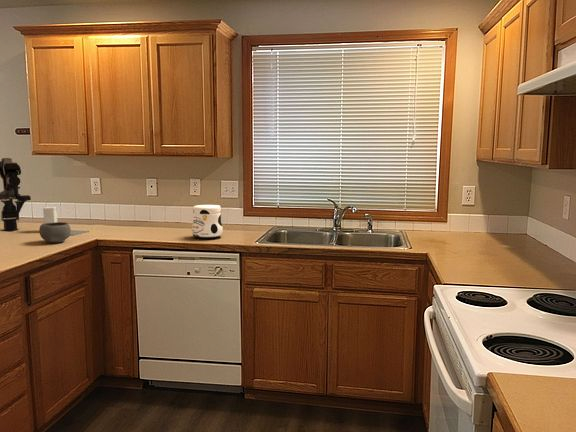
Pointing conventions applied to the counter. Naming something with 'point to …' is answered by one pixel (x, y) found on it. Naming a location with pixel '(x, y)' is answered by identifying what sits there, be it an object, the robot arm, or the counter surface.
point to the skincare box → (50, 214)
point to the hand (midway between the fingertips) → (14, 212)
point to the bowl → (54, 231)
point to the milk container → (207, 221)
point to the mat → (77, 232)
